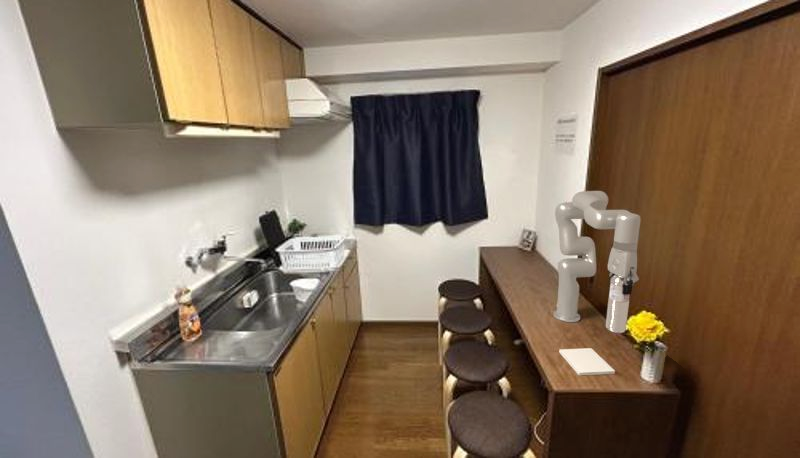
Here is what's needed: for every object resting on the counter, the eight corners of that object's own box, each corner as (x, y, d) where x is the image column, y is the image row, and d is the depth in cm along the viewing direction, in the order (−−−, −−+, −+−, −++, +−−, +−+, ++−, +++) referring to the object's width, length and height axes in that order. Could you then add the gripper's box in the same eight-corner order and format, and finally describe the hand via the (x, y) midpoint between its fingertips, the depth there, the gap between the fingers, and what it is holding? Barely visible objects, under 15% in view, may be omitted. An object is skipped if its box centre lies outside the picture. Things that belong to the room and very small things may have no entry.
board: (559, 352, 147) (559, 349, 147) (591, 350, 147) (591, 348, 147) (579, 375, 132) (579, 372, 131) (614, 373, 132) (615, 371, 132)
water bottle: (617, 324, 139) (624, 266, 134) (629, 333, 133) (637, 272, 127) (601, 325, 139) (607, 267, 134) (612, 334, 132) (619, 273, 127)
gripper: (600, 240, 137) (596, 282, 141) (631, 253, 120) (625, 300, 124) (619, 239, 137) (614, 281, 141) (652, 252, 120) (645, 299, 124)
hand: (619, 290), depth 132 cm, fingers closed on water bottle, 6 cm apart
